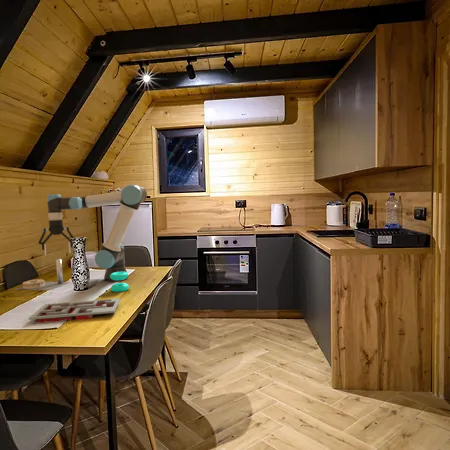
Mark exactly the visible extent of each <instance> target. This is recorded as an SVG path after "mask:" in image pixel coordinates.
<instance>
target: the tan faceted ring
mask: <svg viewBox="0 0 450 450" xmlns="http://www.w3.org/2000/svg"><path fill="white" fill-rule="evenodd" d="M44 282H45V279H43V278H42V279H41V278H40V279H38V278H37V279H30V280H26V281H23V282H22V287H23V288H24V289H33V288H39V287H42V286H44V285H45V283H44Z"/></svg>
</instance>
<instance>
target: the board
mask: <svg viewBox="0 0 450 450" xmlns="http://www.w3.org/2000/svg"><path fill="white" fill-rule="evenodd" d="M44 283H45V285H44V286H42V287H39V288H33V289H24V288H23V286H21V287H17V288H15V289H14V290H21V291H22V290H24V291H25V290H27V291H28V290H29V291H30V290H31V291H35V290H36V291H52V290H55V289H57V288H60V287H62V286H65V285H67V284H69V283H70V284H71V282H70V281H66V282H65V281H63V283H62V284H58V281H44Z"/></svg>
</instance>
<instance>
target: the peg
mask: <svg viewBox="0 0 450 450" xmlns="http://www.w3.org/2000/svg"><path fill="white" fill-rule="evenodd" d="M62 264H63V263H62V259H61V258H58V259H55V267H56V276H57V277H56V279H57V280H56V281H57V282H58V284H62V283H63V282H64V278H63V265H62Z"/></svg>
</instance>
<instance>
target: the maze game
mask: <svg viewBox="0 0 450 450" xmlns="http://www.w3.org/2000/svg"><path fill="white" fill-rule="evenodd" d="M121 300H122V299H121V297H120V298H106V299H94V300H82V301H68V302H56V303H45V304H44V305H42V306H41V307H40V308H39V309H37V310H36V311H35V312H34V313H33V314H31V315H30V316H29V317H28V320H30V321H31V320H32V321H33V320H34V323H35V322H41V323H46V322H45V321H53V322H60V321H59V320H64V321H71V320H73V319H74V318H75V321H79V320H89V319H90V320H91V319H93V317H94V315H102V314H103V315H104V314H113V313H115V312H116V310H117V309H118V306H119V303H120V302H121Z"/></svg>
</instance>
